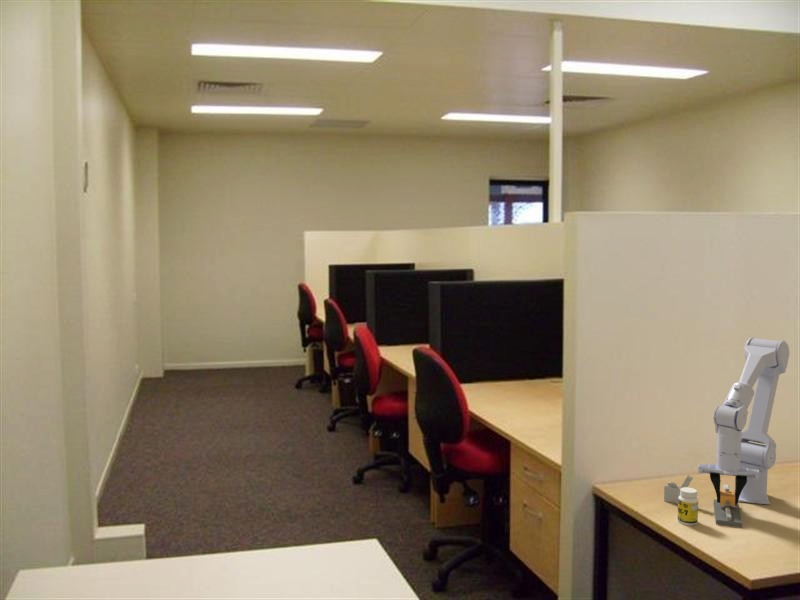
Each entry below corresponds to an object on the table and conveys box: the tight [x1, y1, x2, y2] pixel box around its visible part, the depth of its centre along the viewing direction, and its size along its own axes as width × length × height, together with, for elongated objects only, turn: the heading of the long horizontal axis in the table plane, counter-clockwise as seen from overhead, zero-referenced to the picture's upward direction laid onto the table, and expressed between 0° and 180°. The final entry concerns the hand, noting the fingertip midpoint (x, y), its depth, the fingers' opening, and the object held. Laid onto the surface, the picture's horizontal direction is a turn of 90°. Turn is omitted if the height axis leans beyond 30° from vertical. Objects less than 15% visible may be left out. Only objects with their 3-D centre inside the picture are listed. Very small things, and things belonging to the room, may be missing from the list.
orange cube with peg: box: [720, 490, 735, 506], centre depth 194 cm, size 5×4×2 cm, turn 159°
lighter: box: [663, 474, 694, 505], centre depth 201 cm, size 7×2×8 cm, turn 55°
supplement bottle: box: [677, 486, 699, 526], centre depth 188 cm, size 5×5×8 cm
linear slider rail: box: [713, 484, 743, 528], centre depth 192 cm, size 15×6×6 cm, turn 159°
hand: (727, 502), depth 194 cm, fingers closed on orange cube with peg, 3 cm apart
